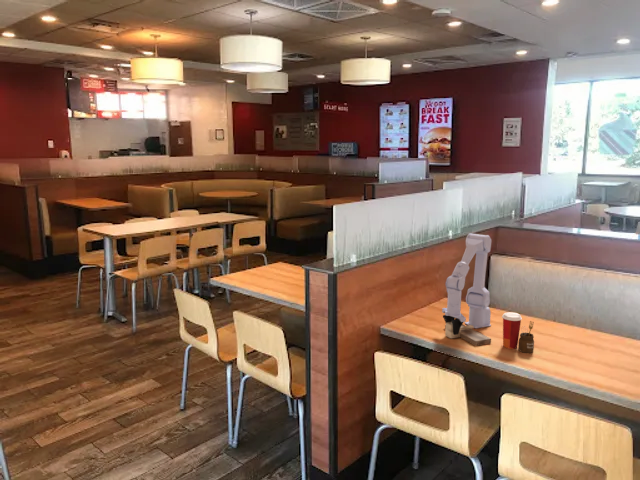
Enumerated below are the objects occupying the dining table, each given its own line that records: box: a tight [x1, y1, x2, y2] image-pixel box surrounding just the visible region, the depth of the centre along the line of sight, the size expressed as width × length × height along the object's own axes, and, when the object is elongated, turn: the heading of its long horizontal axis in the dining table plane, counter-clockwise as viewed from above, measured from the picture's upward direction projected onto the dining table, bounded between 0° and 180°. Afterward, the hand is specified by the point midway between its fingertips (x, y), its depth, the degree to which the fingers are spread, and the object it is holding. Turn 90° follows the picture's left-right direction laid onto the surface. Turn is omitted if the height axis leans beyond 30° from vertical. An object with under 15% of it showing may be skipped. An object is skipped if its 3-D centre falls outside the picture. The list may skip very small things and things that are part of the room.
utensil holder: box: [517, 320, 535, 354], centre depth 210 cm, size 6×6×12 cm
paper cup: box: [501, 311, 523, 350], centre depth 214 cm, size 8×8×14 cm
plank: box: [444, 323, 492, 346], centre depth 228 cm, size 8×22×2 cm, turn 21°
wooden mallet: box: [444, 322, 475, 339], centre depth 227 cm, size 13×4×6 cm, turn 111°
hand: (452, 332), depth 226 cm, fingers closed on wooden mallet, 4 cm apart
